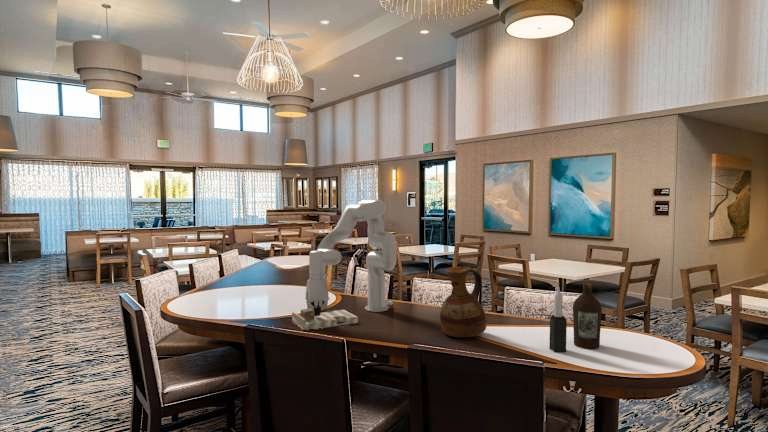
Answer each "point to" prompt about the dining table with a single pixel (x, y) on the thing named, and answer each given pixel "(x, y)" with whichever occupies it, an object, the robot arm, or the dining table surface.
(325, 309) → the food container
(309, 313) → the walnut block
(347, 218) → the robot arm
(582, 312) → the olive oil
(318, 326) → the trap board
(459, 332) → the ceramic pitcher
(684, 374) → the dining table surface
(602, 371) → the dining table surface
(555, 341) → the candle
